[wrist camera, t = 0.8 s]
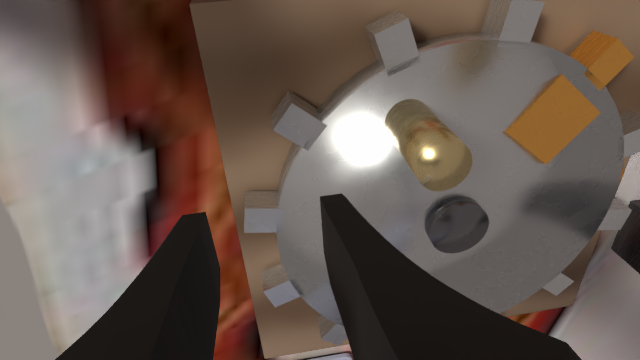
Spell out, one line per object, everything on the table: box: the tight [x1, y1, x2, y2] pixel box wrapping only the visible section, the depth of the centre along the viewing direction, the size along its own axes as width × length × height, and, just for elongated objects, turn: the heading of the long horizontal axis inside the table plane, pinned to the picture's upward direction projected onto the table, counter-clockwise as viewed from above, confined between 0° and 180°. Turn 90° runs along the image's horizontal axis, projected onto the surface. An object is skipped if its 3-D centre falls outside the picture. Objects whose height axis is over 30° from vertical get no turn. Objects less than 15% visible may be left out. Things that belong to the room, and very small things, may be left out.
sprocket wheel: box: [244, 0, 640, 346], centre depth 20 cm, size 21×21×6 cm
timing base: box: [189, 0, 640, 359], centre depth 23 cm, size 22×22×1 cm
